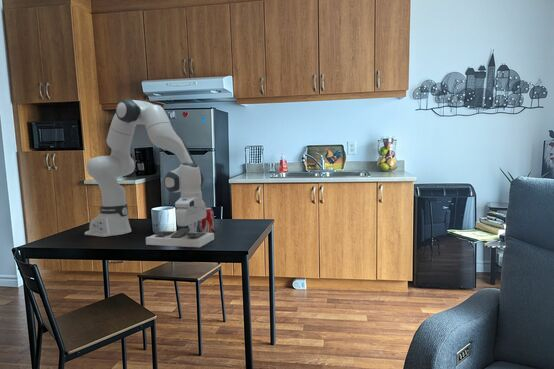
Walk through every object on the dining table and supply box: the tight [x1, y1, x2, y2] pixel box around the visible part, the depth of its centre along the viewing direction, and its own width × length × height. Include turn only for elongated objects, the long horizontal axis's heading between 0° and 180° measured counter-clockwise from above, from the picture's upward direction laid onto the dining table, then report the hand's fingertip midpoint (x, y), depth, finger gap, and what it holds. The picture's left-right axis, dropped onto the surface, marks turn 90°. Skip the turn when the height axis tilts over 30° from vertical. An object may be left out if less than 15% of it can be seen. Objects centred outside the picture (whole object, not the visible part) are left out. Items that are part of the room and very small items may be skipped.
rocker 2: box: [187, 233, 206, 237], centre depth 166 cm, size 4×9×2 cm, turn 164°
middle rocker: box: [171, 227, 190, 238], centre depth 168 cm, size 4×9×2 cm, turn 164°
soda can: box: [198, 206, 215, 233], centre depth 186 cm, size 7×7×12 cm
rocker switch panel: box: [145, 230, 215, 248], centre depth 168 cm, size 26×14×3 cm, turn 74°
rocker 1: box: [154, 230, 174, 235], centre depth 170 cm, size 4×9×2 cm, turn 164°
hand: (193, 232), depth 163 cm, fingers closed
